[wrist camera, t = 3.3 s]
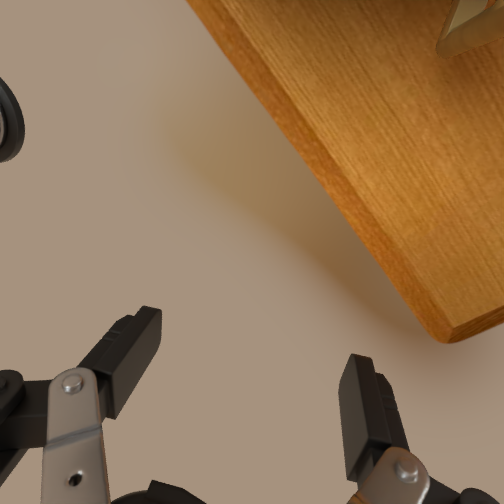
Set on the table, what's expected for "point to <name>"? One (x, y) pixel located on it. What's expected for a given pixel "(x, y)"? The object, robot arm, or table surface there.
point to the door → (470, 26)
